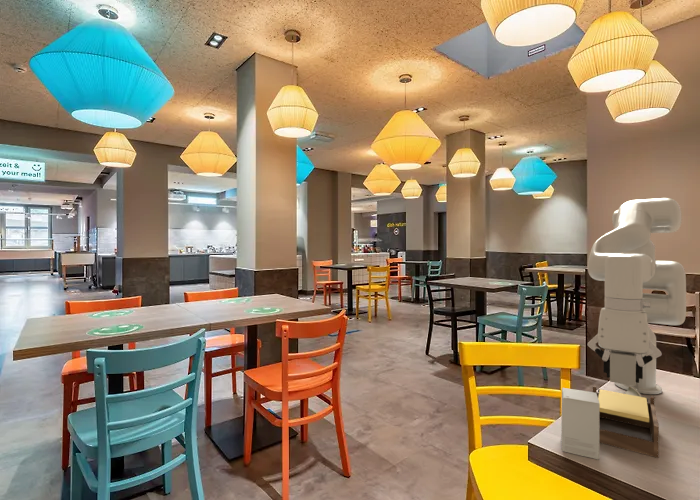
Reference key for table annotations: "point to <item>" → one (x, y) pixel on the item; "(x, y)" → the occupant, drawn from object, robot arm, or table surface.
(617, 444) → the trapdoor frame
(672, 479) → the table surface
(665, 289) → the robot arm
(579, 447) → the supplement box
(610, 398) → the trapdoor
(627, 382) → the plain grey carton
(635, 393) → the ceramic fragment
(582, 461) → the table surface
